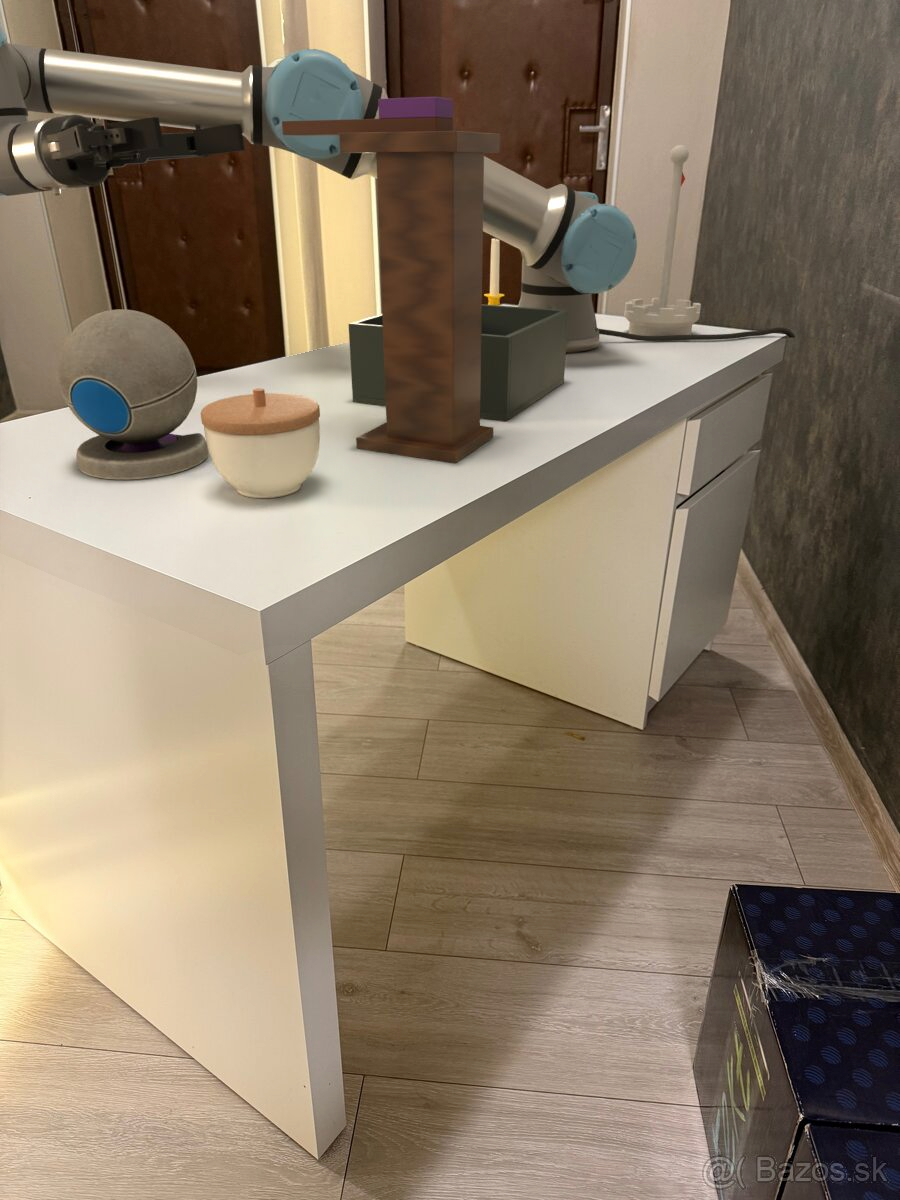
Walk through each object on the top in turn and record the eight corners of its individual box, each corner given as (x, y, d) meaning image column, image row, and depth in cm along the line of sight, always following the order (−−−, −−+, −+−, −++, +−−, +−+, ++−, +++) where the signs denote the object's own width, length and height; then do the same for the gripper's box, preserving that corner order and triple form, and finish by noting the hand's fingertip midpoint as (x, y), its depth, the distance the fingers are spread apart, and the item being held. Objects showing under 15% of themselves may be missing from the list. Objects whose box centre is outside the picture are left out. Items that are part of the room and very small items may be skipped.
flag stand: (685, 344, 141) (711, 143, 127) (612, 337, 147) (629, 144, 133) (704, 331, 152) (730, 144, 137) (635, 325, 157) (653, 145, 143)
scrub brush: (282, 135, 82) (279, 102, 81) (303, 136, 85) (301, 104, 84) (436, 132, 76) (435, 96, 74) (453, 133, 78) (453, 99, 77)
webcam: (227, 445, 91) (209, 302, 84) (170, 484, 80) (143, 323, 73) (121, 438, 94) (94, 298, 87) (51, 475, 83) (13, 319, 76)
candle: (512, 324, 159) (515, 236, 152) (493, 327, 156) (495, 237, 148) (493, 320, 162) (495, 234, 155) (474, 324, 159) (475, 235, 152)
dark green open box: (427, 368, 125) (426, 300, 120) (564, 383, 117) (568, 310, 112) (352, 401, 108) (348, 323, 103) (506, 421, 100) (509, 337, 95)
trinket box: (322, 505, 75) (314, 403, 71) (202, 509, 74) (186, 406, 70) (328, 467, 85) (321, 374, 80) (221, 470, 84) (208, 377, 79)
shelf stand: (356, 448, 90) (338, 132, 76) (400, 424, 98) (391, 135, 84) (455, 463, 86) (456, 130, 72) (493, 437, 94) (500, 133, 80)
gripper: (145, 187, 111) (274, 173, 103) (-17, 189, 91) (127, 172, 83) (132, 123, 108) (264, 103, 99) (-39, 111, 88) (108, 85, 79)
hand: (202, 134), depth 91 cm, fingers open, 13 cm apart
